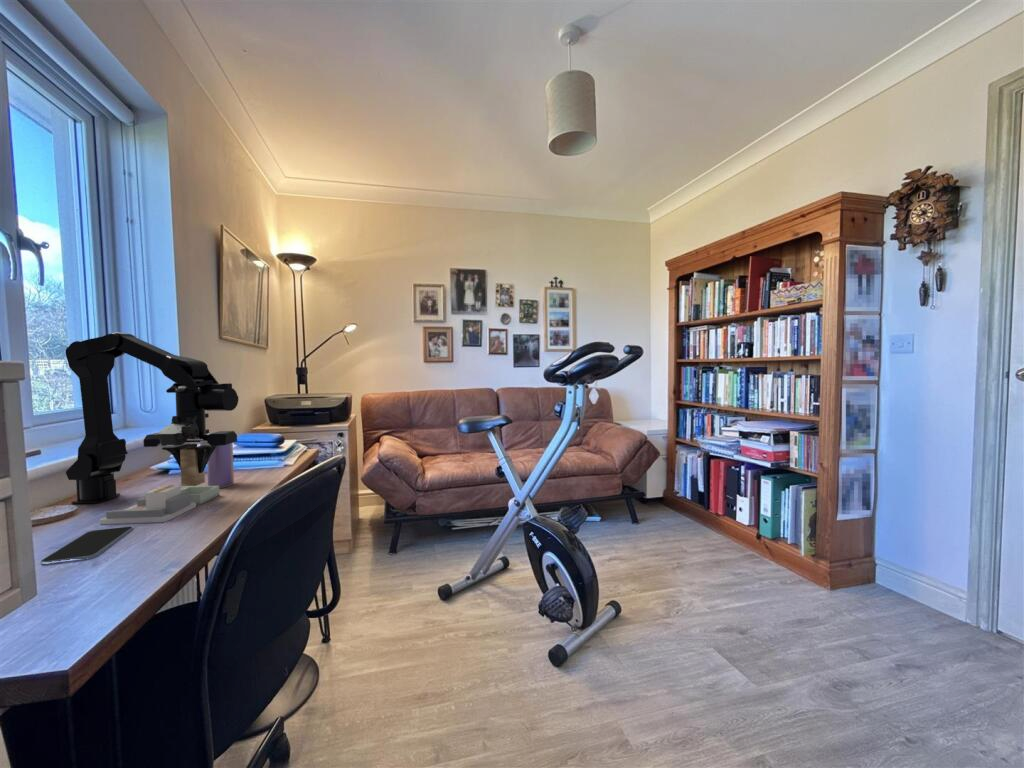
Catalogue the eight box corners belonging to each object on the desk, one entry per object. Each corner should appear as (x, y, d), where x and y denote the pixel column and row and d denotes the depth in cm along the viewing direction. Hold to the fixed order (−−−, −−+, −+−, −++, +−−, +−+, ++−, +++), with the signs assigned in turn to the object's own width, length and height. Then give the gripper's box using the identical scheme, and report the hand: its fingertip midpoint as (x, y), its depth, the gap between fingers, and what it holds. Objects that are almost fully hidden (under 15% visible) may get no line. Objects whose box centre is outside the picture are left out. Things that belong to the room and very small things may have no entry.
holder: (167, 505, 100) (166, 495, 100) (188, 496, 108) (188, 486, 108) (200, 504, 101) (200, 494, 101) (219, 495, 109) (219, 485, 109)
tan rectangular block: (181, 486, 103) (180, 445, 102) (190, 482, 106) (189, 443, 106) (196, 485, 103) (194, 445, 102) (205, 481, 106) (203, 443, 106)
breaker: (146, 512, 92) (145, 491, 92) (163, 504, 97) (162, 485, 97) (165, 511, 92) (165, 491, 92) (181, 504, 97) (180, 484, 97)
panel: (99, 524, 89) (99, 505, 89) (137, 508, 99) (136, 491, 99) (165, 521, 90) (164, 503, 90) (196, 506, 100) (195, 489, 100)
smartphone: (135, 525, 87) (93, 555, 73) (135, 530, 87) (94, 560, 73) (88, 530, 84) (36, 562, 70) (88, 535, 84) (37, 568, 70)
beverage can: (224, 488, 114) (222, 434, 114) (202, 488, 115) (200, 434, 114) (238, 482, 120) (237, 431, 120) (218, 482, 120) (216, 431, 120)
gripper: (123, 415, 95) (125, 483, 95) (210, 414, 97) (212, 480, 97) (159, 409, 106) (162, 470, 107) (237, 409, 108) (239, 469, 108)
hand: (193, 472), depth 104 cm, fingers closed on tan rectangular block, 3 cm apart
